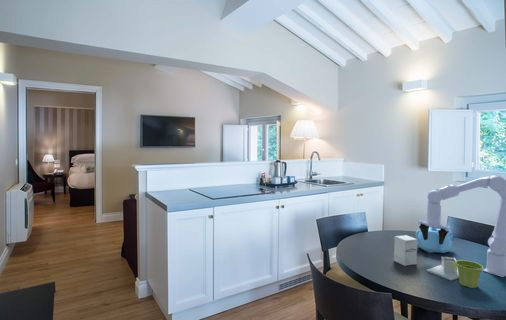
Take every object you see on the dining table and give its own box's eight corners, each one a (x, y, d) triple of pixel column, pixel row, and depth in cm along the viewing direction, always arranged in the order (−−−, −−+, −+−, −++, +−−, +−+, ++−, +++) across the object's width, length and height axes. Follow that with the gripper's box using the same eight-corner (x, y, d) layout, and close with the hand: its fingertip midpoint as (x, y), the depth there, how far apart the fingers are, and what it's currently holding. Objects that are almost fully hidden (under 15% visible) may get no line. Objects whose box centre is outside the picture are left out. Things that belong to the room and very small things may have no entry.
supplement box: (404, 266, 147) (405, 240, 147) (393, 260, 154) (394, 235, 154) (417, 264, 149) (417, 239, 148) (405, 259, 156) (406, 234, 156)
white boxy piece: (440, 267, 144) (441, 256, 144) (454, 268, 142) (454, 258, 142) (443, 271, 139) (443, 260, 139) (457, 273, 137) (457, 262, 137)
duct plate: (448, 263, 150) (449, 253, 150) (473, 271, 141) (474, 261, 140) (426, 271, 141) (427, 261, 141) (451, 280, 132) (452, 269, 131)
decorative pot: (426, 243, 180) (427, 220, 179) (456, 251, 166) (457, 226, 165) (410, 249, 171) (411, 224, 170) (441, 257, 158) (441, 231, 157)
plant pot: (471, 279, 133) (471, 259, 132) (488, 290, 123) (489, 268, 123) (449, 280, 132) (450, 260, 132) (465, 290, 123) (466, 269, 123)
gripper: (415, 212, 156) (414, 239, 157) (444, 218, 143) (443, 247, 144) (423, 211, 159) (422, 236, 160) (452, 217, 147) (452, 244, 148)
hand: (433, 241), depth 152 cm, fingers open, 7 cm apart
